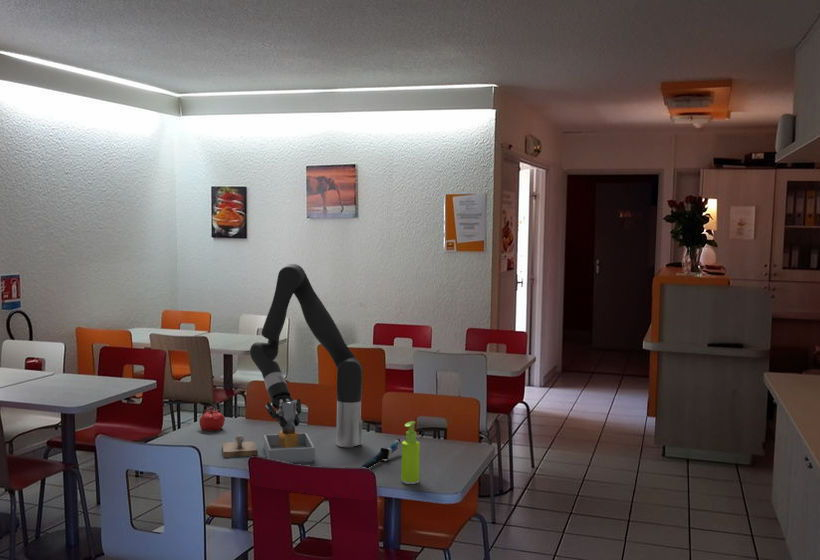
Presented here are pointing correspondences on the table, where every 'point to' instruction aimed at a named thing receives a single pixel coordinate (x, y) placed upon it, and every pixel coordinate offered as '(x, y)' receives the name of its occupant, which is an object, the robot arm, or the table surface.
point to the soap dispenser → (410, 455)
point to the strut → (288, 426)
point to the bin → (289, 449)
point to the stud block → (239, 448)
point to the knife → (383, 454)
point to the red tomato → (211, 420)
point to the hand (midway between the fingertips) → (290, 425)
